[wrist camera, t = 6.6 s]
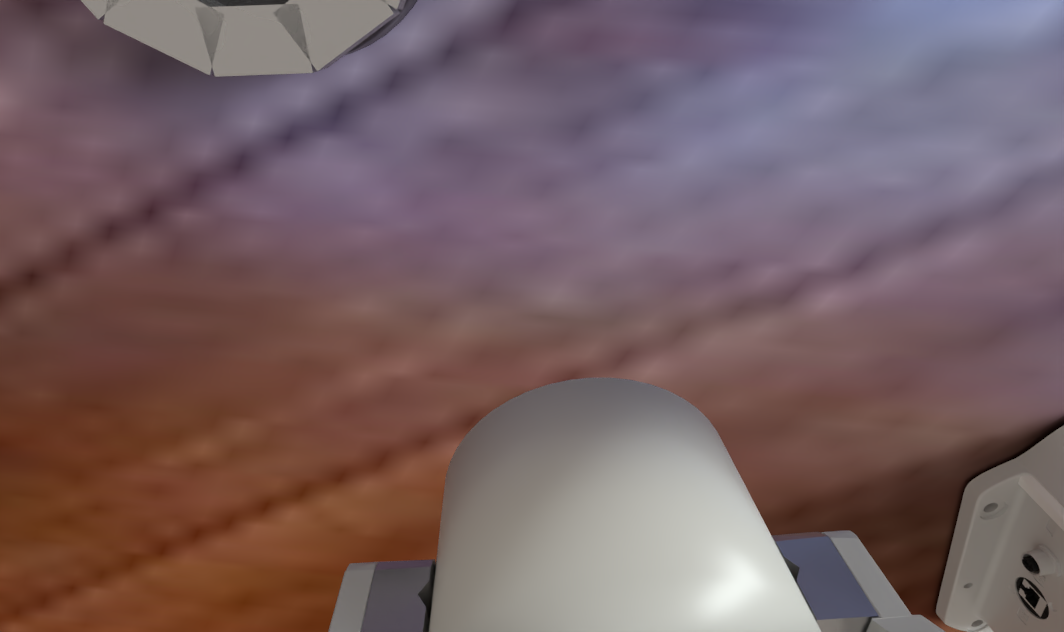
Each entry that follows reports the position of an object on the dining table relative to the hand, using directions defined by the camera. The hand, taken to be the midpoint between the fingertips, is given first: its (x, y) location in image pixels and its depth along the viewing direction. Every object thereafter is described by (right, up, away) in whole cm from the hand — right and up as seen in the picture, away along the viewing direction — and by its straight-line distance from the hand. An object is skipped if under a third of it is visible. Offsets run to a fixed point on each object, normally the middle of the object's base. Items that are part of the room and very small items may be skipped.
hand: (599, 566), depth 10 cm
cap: (0, +1, +2) cm, 2 cm away
